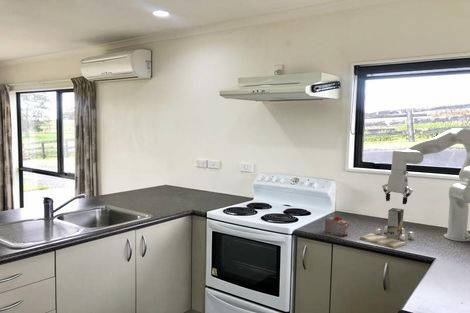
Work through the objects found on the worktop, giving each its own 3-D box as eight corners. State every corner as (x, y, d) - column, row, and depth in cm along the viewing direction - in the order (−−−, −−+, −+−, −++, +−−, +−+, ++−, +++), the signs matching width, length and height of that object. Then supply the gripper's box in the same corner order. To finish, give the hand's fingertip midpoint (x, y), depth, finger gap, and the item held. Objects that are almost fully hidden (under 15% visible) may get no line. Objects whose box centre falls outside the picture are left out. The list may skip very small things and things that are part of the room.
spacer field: (417, 238, 219) (417, 231, 219) (403, 243, 209) (404, 236, 208) (389, 231, 232) (389, 224, 232) (374, 235, 222) (375, 228, 221)
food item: (350, 235, 221) (351, 218, 220) (342, 237, 216) (343, 220, 215) (331, 230, 232) (331, 213, 231) (322, 232, 227) (323, 215, 226)
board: (405, 244, 207) (405, 242, 207) (394, 248, 199) (394, 246, 199) (371, 235, 222) (371, 233, 222) (359, 238, 214) (360, 236, 214)
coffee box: (398, 240, 213) (400, 211, 212) (386, 238, 217) (388, 210, 216) (402, 236, 221) (404, 209, 220) (390, 234, 225) (392, 207, 223)
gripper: (417, 173, 212) (414, 204, 213) (387, 170, 225) (384, 199, 226) (410, 174, 207) (407, 206, 208) (380, 170, 220) (378, 200, 221)
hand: (395, 202), depth 217 cm, fingers open, 9 cm apart
